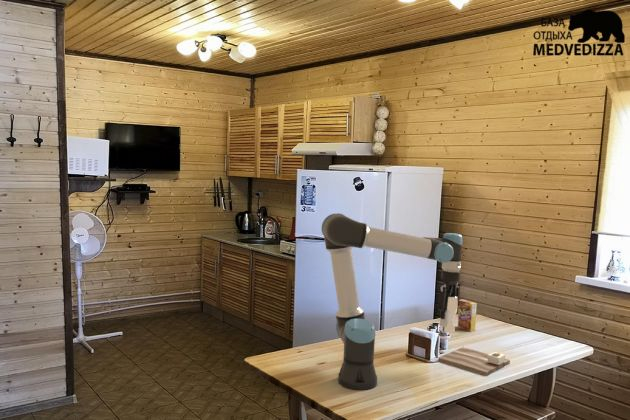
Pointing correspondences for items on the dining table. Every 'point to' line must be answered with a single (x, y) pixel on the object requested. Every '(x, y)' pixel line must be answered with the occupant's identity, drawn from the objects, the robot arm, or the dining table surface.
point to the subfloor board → (472, 361)
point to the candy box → (467, 315)
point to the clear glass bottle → (450, 314)
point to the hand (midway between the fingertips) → (447, 324)
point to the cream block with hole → (496, 358)
